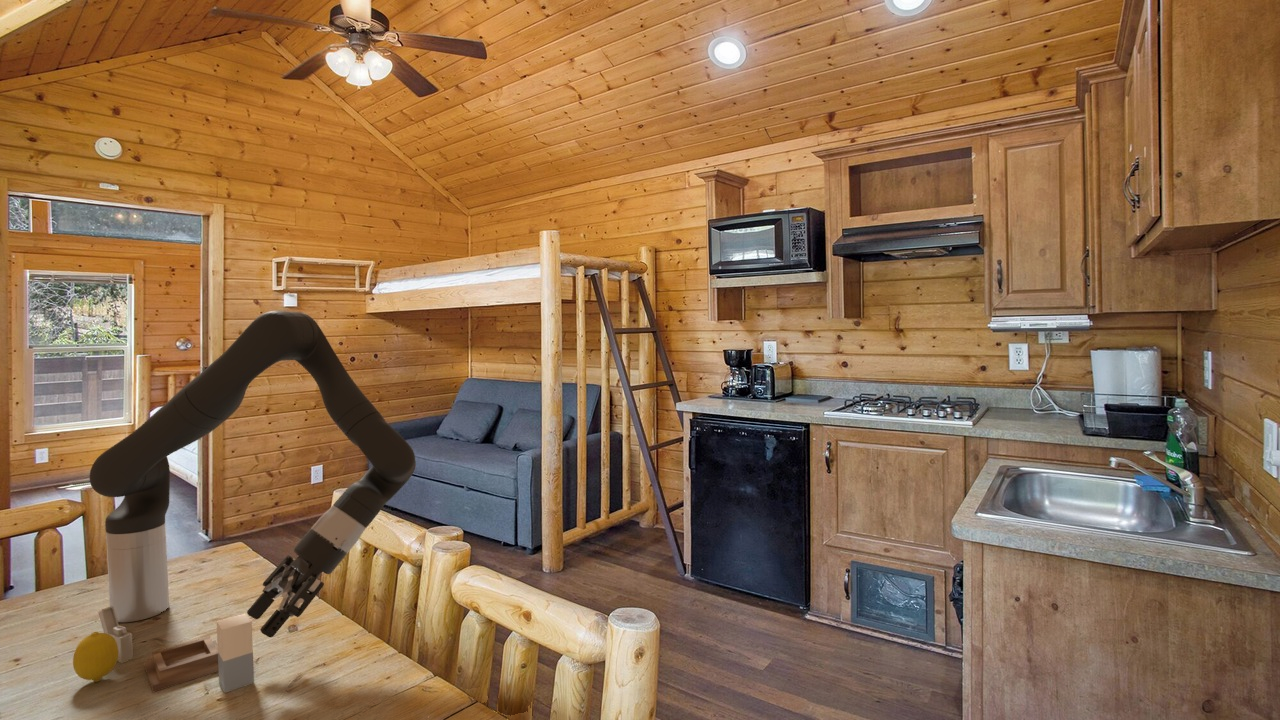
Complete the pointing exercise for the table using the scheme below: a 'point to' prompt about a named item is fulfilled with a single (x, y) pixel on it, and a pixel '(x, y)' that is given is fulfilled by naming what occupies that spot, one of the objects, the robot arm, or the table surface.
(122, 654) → the lighter
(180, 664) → the socket board
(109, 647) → the lemon
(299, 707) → the table surface
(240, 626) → the brick block
